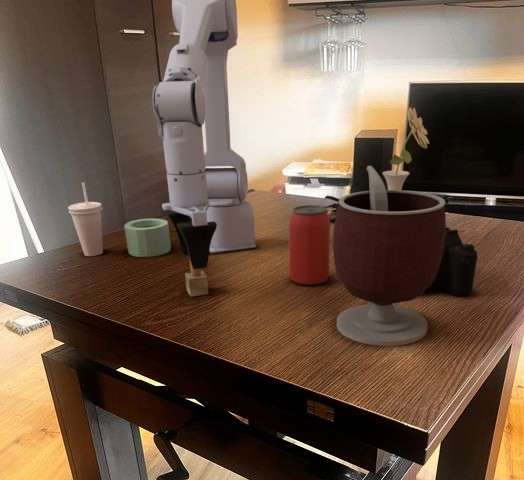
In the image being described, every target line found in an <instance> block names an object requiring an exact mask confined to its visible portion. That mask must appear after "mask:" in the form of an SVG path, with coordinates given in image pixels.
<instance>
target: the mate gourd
mask: <svg viewBox="0 0 524 480" xmlns="http://www.w3.org/2000/svg"><path fill="white" fill-rule="evenodd" d="M366 171H367V172H368V184H369V185H368V187H369V188H368V189H369V190H365V191H358V192H353V193H349V194H346V195H343V196H341V197H339V198H340V199H339V206H338V209H337V213H336V216H335V219H334V220H335V222H334V225H333V235H332V237H333V239H332V240H333V241H332V254H333V261H334V268H335V272H336V276H337V278H338V280H339V281H340V283H341V284H342V285H343V287H344V288H345V289H346V291H347V292H348V293H349V294H350V295H351V296H353V297H354V298H357V299H360V300H363V301H365V302H369V304H362V305H356V306H352V307H350V308H347V309H344V310H343V311H342V312H340V313H339V314H338V316H337V318H336V329H337V330H338V332H339V333H340V334H341V335H343V336H344V337H345V338H348V339H349V340H352V341H355V342H357V343H361V344H365V345H369V346H377V347H396V346H404V345H409V344H412V343H416V342H418V341H420V340H421V339H422V338H424V337H425V336H426V335H427V331H428V321H427V320H426V318H425V316H423V315H421V314H420V313H418V312H416V311H414V310H412V309H409V308H406V307H403V306H398V305H395V304H398V303H399V304H400V303H406V302H409V301H413V300H415V299H418V297H420V296H421V295H422V294H423V293H424V292H425V291H426V290H427V289H429V288H428V287H429V286H430V285H431V284H432V283H433V281H434V280H435V277H436V275H437V272H438V270H439V266H440V263H441V259H442V256H443V251H444V243H445V236H446V227H447V223H446V222H447V218H446V207H445V206H446V205H445V204H446V200H445V199H444V198H442V197H440V196H438V195H435V194H432V193H427V192H421V191H414V190H403V189H401V190H388V189H386V185H385V183H384V181H383V180H382V178H381V176H380V175H379V173H378V172H377V171H376V169H375V168H374V167H373V166H372V165H368V166H366ZM371 303H372V304H371Z"/></svg>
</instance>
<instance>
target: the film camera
mask: <svg viewBox="0 0 524 480" xmlns="http://www.w3.org/2000/svg"><path fill="white" fill-rule="evenodd" d="M462 241H463V240H462V239H461V237H460V235H459V230H458V229H450V227H448V226H446V236H445V243H444V251H443V256H442V259H441V263H440V266H439V270H438V272H437V275H436V277H435V280H434V281H433V283H432V284H431V285H430V286H429V287H428V288H427V289H430V290H438V289H439V290H441V291H443V292H446V293H448V294H450V295H452V296H454V297H467V296H470V295H471V294H472V292H473V286H474V282H475V281H474V280H475V274H476V269H477V262H478V252H477V250H475V245H474V244H471V243H465V244H463V242H462Z"/></svg>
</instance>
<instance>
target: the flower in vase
mask: <svg viewBox="0 0 524 480" xmlns="http://www.w3.org/2000/svg"><path fill="white" fill-rule="evenodd" d="M407 119H408V120H407V121H408V123H409V127H410V129H411V130H410V132H409V133H408V135H407V137H406V139H405V140H404V143H403V144H402V147H401V150H400V154H399V156H398V155H397V154H395V153H394V154H393V156H392V158H391V159H390V160H389V164H390V165H393V166H396V169H395V170H386V171H383V172H382V175H383V177H384V178H385V182H386V186H387V190H403V189H402V188H403V185H404V183H405V181H406V180H407V178H408V176H409V175H410V172H409V171H406V170H399V168H400V165H401V164H402V163H403V162H405V163H406V164H410V163H411V162H412V156H411V153H410V152H409V151H408V150H406V149H405V147H406V145H407V143H408V141H409V139H410V137H411V136H412V135H413V137H414V139H415V140H416V142H417V144H418V145H419V146H420V147H421V148H423V149H428V145H429V144H430V141H429V139H428V137H427V135H428V131H427V129H426V128H425V126H424V125H423V119H422V117H418V114H417V110H416V108H415V107H413V109H412V107H411V106H410V107H409V108H408V109H407Z"/></svg>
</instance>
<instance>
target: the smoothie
mask: <svg viewBox="0 0 524 480" xmlns="http://www.w3.org/2000/svg"><path fill="white" fill-rule="evenodd" d="M81 186H82V187H81V188H82V191H83V192H82V193H83V197H84V201H83V202H77V203H73V204H70V205H69V206H68V207H67V209H68V213H69V214H70V215H71V218H72V222H73V225H74V227H75V231H76V234H77V237H78V239H79V243H80V245H81V246H80V247H81V249H82V252H83V255H84V256H86V257H94V256H95V257H96V256H100V255H102V254H103V253H104V246H103V245H104V243H103V224H102V211H103V206H102V203H101V202H97V201H89V198H88V194H87V193H88V192H87V187H86V182H84V181H83V182H81Z"/></svg>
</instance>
